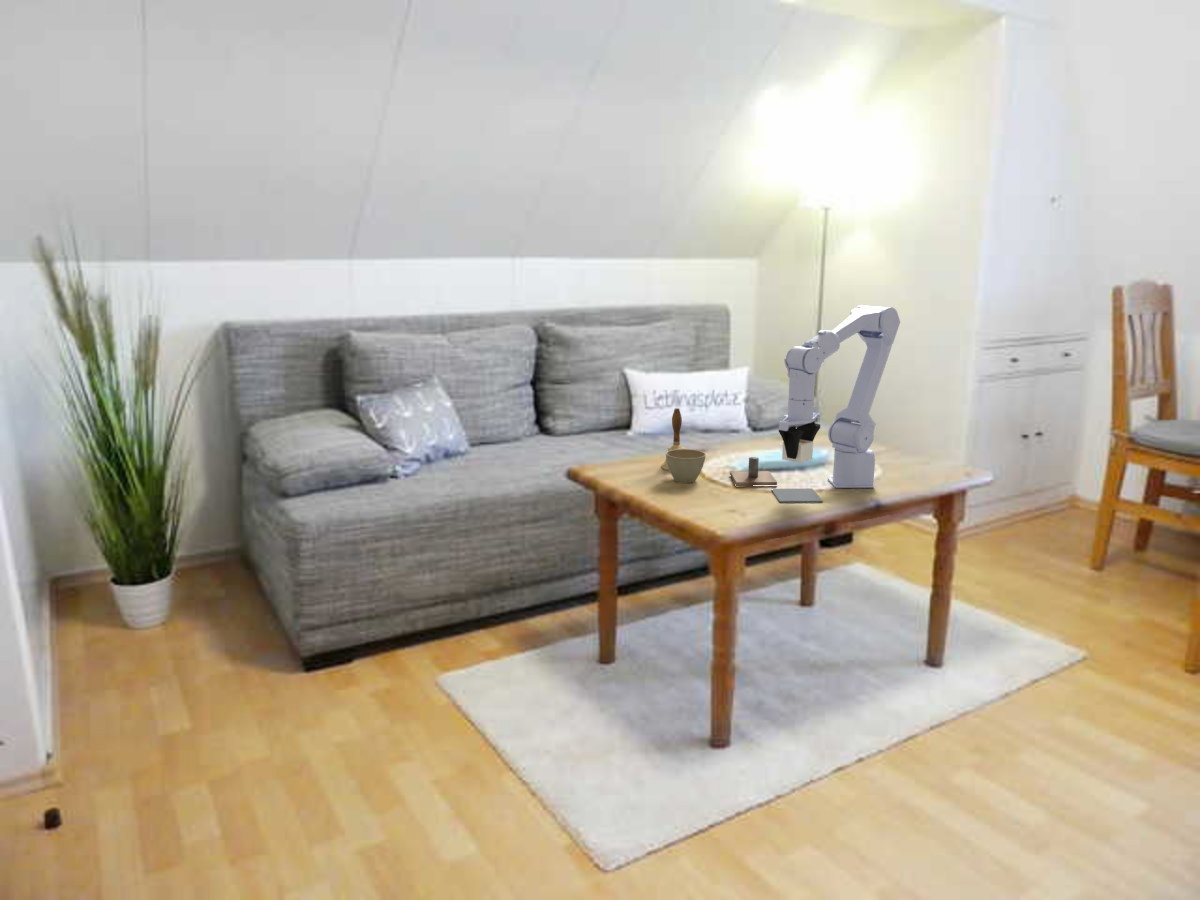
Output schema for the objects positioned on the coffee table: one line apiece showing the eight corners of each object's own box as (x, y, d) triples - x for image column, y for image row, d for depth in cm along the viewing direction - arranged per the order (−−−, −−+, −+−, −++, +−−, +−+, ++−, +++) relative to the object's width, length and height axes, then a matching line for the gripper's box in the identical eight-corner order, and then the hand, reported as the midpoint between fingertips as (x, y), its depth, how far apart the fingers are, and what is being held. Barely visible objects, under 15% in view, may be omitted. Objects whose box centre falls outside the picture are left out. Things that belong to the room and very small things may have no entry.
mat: (812, 490, 208) (812, 488, 208) (822, 502, 198) (822, 500, 198) (771, 490, 208) (771, 488, 208) (779, 502, 198) (779, 501, 198)
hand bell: (654, 467, 229) (655, 409, 225) (672, 461, 235) (673, 404, 231) (680, 473, 224) (681, 413, 220) (698, 466, 230) (699, 408, 226)
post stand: (768, 475, 221) (769, 453, 219) (776, 486, 211) (777, 463, 210) (730, 475, 221) (730, 453, 219) (736, 487, 211) (737, 463, 210)
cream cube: (812, 458, 201) (813, 440, 200) (800, 462, 198) (801, 443, 197) (793, 455, 205) (794, 437, 204) (782, 459, 201) (782, 440, 200)
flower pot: (703, 487, 211) (703, 459, 209) (662, 485, 213) (663, 457, 211) (706, 476, 221) (707, 449, 219) (667, 474, 223) (668, 447, 221)
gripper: (803, 392, 205) (800, 447, 209) (768, 400, 195) (766, 458, 199) (829, 396, 201) (825, 452, 204) (795, 404, 191) (792, 463, 194)
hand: (798, 455), depth 201 cm, fingers closed on cream cube, 5 cm apart
